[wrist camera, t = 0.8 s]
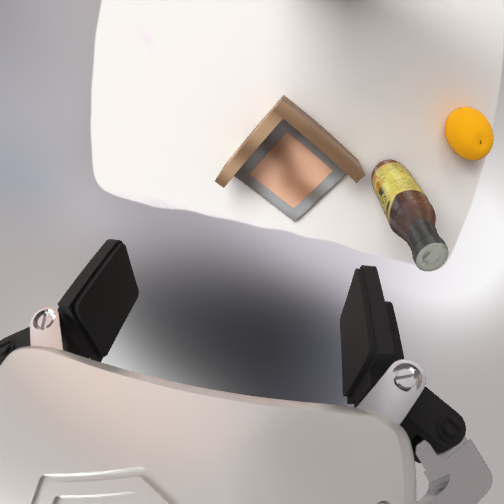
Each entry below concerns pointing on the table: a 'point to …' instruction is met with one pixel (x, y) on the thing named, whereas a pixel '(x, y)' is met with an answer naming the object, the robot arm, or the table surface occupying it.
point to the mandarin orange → (469, 133)
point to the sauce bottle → (409, 213)
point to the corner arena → (290, 160)
